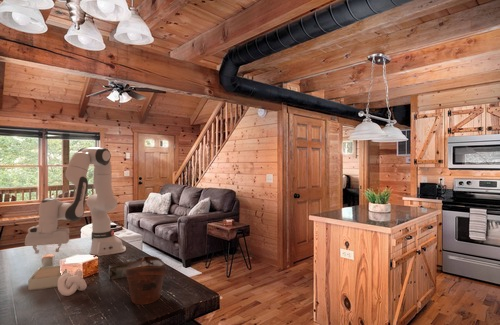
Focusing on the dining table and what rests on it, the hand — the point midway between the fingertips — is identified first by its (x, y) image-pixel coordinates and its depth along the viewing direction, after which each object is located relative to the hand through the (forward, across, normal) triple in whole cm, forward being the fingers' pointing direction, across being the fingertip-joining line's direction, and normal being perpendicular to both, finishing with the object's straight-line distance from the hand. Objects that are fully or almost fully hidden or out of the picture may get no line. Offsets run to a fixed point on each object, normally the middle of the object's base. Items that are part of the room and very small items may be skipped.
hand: (47, 252), depth 163 cm
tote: (+11, -5, +13) cm, 18 cm away
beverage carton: (+11, -42, +17) cm, 46 cm away
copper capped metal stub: (+11, -1, -1) cm, 11 cm away
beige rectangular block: (+11, -5, +18) cm, 21 cm away
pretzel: (+12, -18, +30) cm, 37 cm away
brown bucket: (+11, -50, +49) cm, 71 cm away
